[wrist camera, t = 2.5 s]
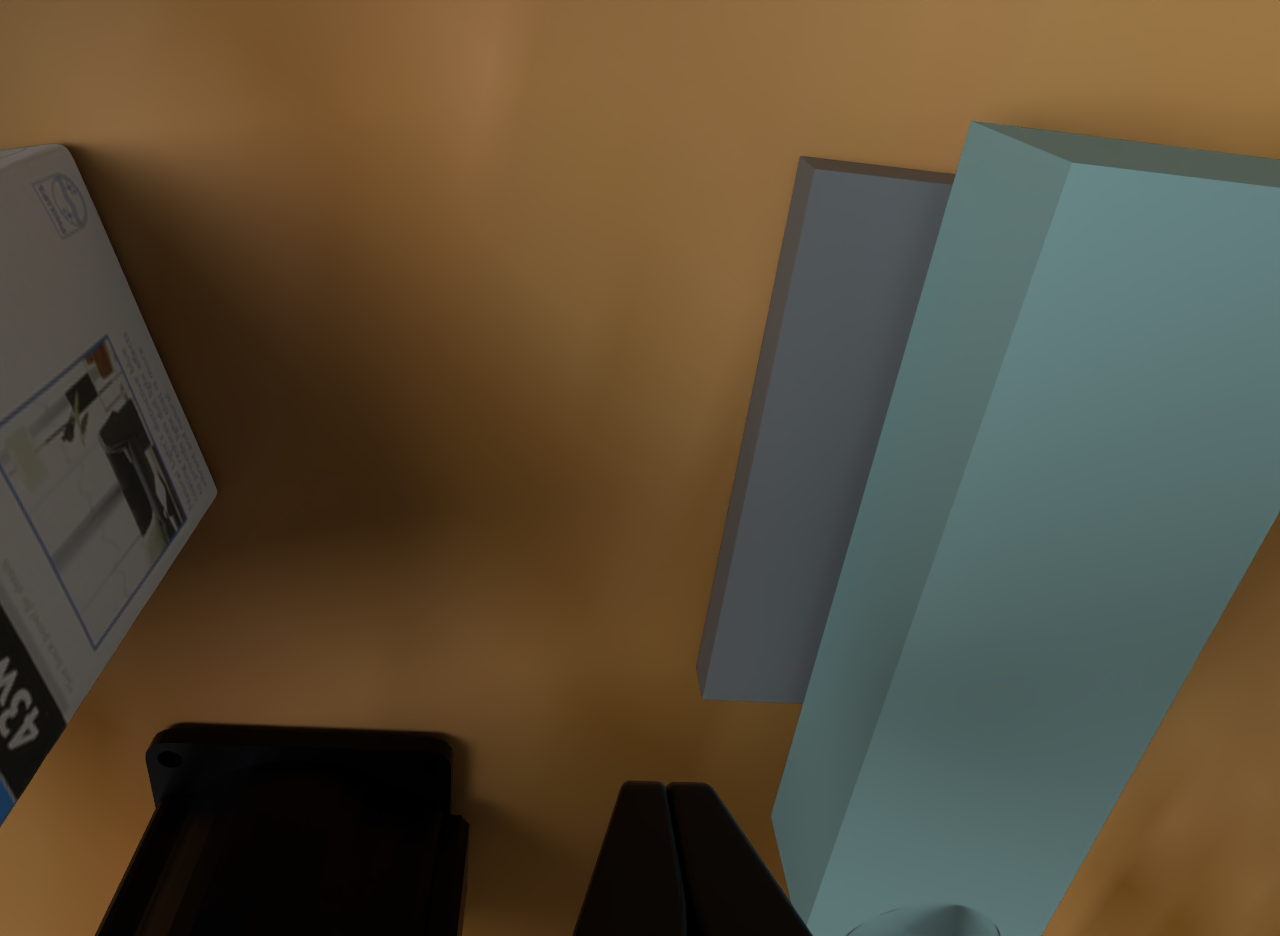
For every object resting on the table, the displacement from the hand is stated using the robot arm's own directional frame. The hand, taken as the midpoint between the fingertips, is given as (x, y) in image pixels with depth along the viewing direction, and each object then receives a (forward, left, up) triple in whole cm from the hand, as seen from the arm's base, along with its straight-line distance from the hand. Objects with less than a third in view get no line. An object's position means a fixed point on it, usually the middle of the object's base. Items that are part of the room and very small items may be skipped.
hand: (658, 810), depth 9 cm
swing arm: (+7, -3, -8) cm, 11 cm away
